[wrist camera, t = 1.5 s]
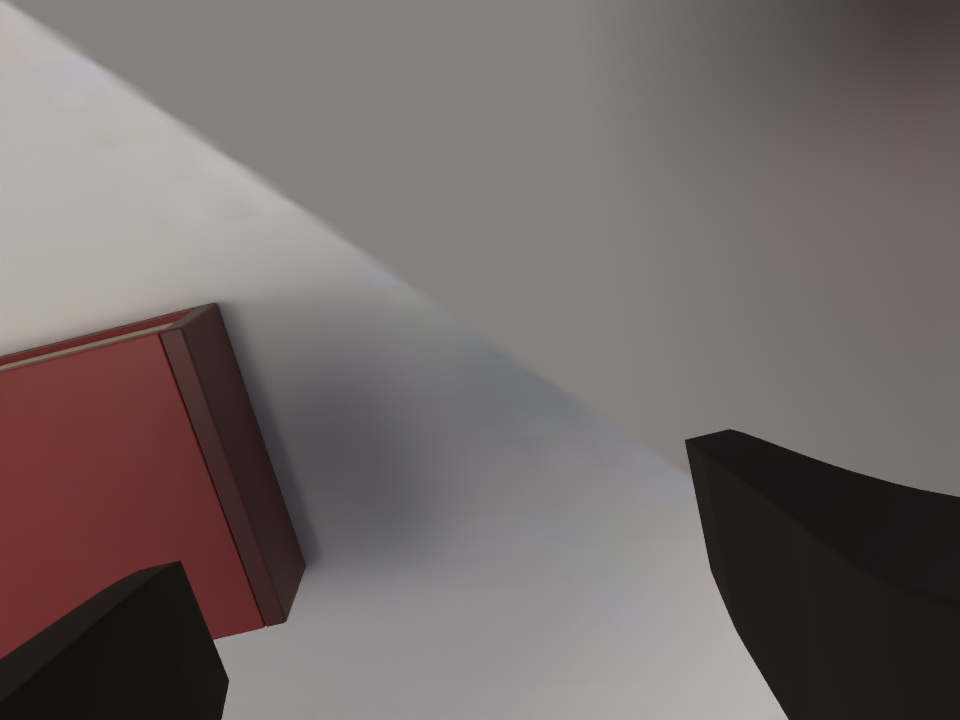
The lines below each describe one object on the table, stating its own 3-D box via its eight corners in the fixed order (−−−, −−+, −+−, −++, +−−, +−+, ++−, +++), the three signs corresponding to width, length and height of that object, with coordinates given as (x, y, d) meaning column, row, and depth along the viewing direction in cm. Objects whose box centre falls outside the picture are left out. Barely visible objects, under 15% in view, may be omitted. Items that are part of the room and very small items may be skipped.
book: (216, 301, 19) (181, 326, 17) (307, 567, 21) (286, 623, 19) (-190, 404, 20) (-282, 442, 17) (-67, 654, 21) (-134, 721, 19)
